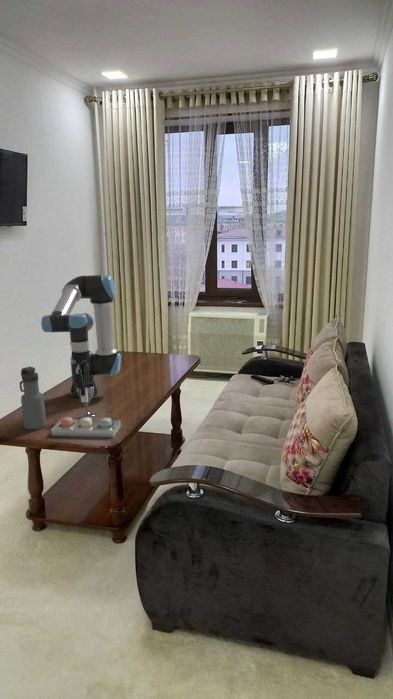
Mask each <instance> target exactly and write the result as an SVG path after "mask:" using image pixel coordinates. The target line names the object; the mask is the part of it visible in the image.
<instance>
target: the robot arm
mask: <svg viewBox="0 0 393 699" xmlns="http://www.w3.org/2000/svg"><path fill="white" fill-rule="evenodd" d="M116 290H117V289H116V285H115V281H114V279H113V276H111V275H104V274H99V275H98V274H94V275H79V276H76V277H74V278H72V279H71V280H69V281H68V282H67V283H66V284H64V286H63V288H62V290H61V296H60V298H59V299H58V301H57V303H56V305H55V307H54V309H53V310H52V312H51V314H50V315H49V314H48V315H43V316H42V317H41V322H40V324H41V329H42V331H43V332H44V333H53V334H54V333H69V338H70V342H69V345H70V348H71V349H70V350H71V356H70V369H71V380H72V381H71V385H70V390H69V394H70V397H73V398H76V399H80V398H79V396H78V393H77V386H78V389H80V394H81V399H80V402H81V403H84V402H88V392H87V387H89V385H87V384H89V383H91V384H93V385H94V394H93V397H94V396H97V395H98V394H99V387H98V385H97V383H96V379H95V376H116V375H118V374H119V373H120V370H121V366H122V365H121V364H122V354H121V353H119V352H118V349H117V348H116V347H115V341H114V331H113V330H114V329H113V319H112V318H113V317H112V307H111V305H112V303H113V302H114V299H116V296H117V291H116ZM82 299H89V302H90V303H91V305H92V306H93V310H94V312H93V314H94V317H93V316H92V314H90V313H87V312H85V313H73V314H71V313H72V311H73V309H74V306H75V305H76V303H77V302H78V301H80V300H82ZM94 324H95V332H96V342H97V349H96V350H95V351H94V352H95V353H93V351H92V350H89V349H90V343H89V342H90V341H89V331H90V330H92V328H93V326H94Z"/></svg>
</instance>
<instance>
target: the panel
mask: <svg viewBox="0 0 393 699" xmlns="http://www.w3.org/2000/svg"><path fill="white" fill-rule="evenodd" d="M80 419H81V418H80ZM80 419H79V418H78V419H76V418H72V422H73V425H72V427H61V419H60V420H59V421H58V422H56V424H54V426H53V427H51V429H50V433H51V437H52V436H53V437H54V436H56V437H82V438H83V437H87V438H88V437H89V438H115V436H116V435H117V433H118V431H119V430H120V429H121V428H122V424H121V423H122V421H121V420H118V419H115V420H114V419H111V422H112V427H111V428H100V419H92V427H91V428H89V427H81V423H80Z"/></svg>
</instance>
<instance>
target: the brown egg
mask: <svg viewBox="0 0 393 699" xmlns="http://www.w3.org/2000/svg"><path fill="white" fill-rule="evenodd" d="M72 419H73V417H71V416H65V417H62V418H60V420H61V427H72V425H73V422H72Z"/></svg>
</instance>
